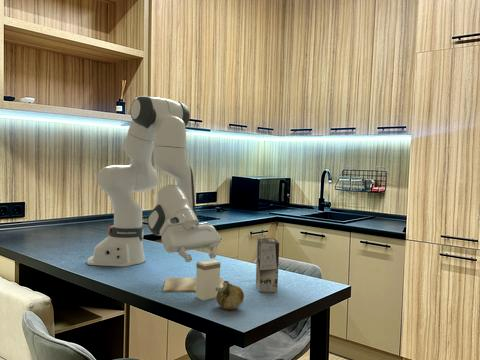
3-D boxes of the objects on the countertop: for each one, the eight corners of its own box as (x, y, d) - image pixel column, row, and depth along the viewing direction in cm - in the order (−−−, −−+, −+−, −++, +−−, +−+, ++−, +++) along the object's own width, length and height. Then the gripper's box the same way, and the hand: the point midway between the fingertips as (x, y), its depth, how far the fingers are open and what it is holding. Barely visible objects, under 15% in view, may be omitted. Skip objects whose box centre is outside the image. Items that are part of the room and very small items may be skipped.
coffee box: (278, 292, 139) (279, 243, 139) (258, 292, 139) (260, 242, 138) (273, 283, 149) (275, 237, 148) (255, 283, 148) (256, 237, 147)
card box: (195, 296, 132) (196, 261, 132) (211, 293, 136) (212, 259, 136) (203, 300, 129) (204, 264, 128) (219, 296, 133) (220, 261, 133)
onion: (241, 313, 119) (241, 285, 118) (212, 311, 120) (213, 283, 120) (245, 304, 126) (246, 278, 126) (218, 302, 128) (219, 276, 127)
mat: (162, 291, 136) (162, 289, 136) (165, 279, 150) (165, 277, 150) (225, 291, 138) (225, 289, 138) (222, 279, 152) (222, 277, 152)
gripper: (206, 227, 150) (222, 260, 143) (154, 232, 137) (170, 269, 130) (214, 216, 147) (231, 249, 140) (162, 220, 133) (178, 257, 126)
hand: (201, 259), depth 135 cm, fingers open, 8 cm apart
